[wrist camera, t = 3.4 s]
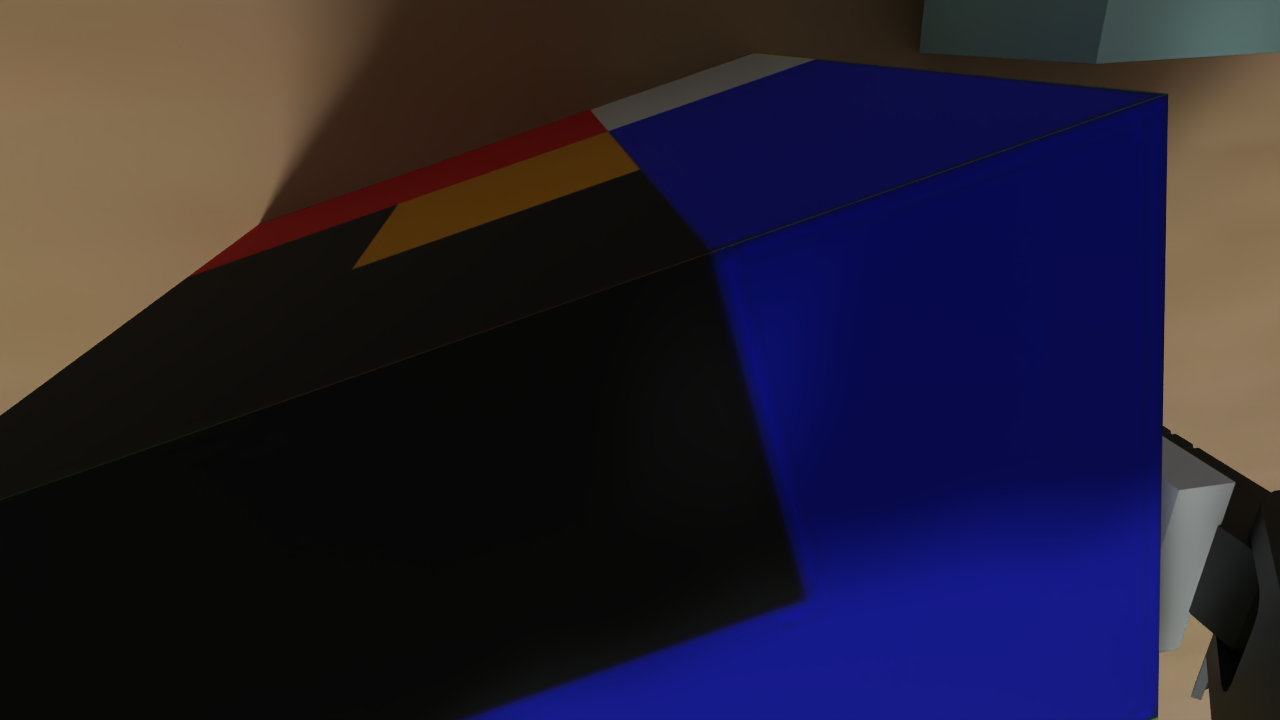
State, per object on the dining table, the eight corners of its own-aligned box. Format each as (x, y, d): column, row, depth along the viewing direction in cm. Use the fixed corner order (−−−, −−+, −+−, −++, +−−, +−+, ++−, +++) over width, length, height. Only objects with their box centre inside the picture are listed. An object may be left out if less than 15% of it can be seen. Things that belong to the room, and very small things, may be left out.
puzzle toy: (753, 52, 14) (1169, 93, 5) (844, 464, 18) (1155, 884, 9) (259, 223, 14) (-216, 574, 5) (466, 596, 18) (413, 1146, 9)
